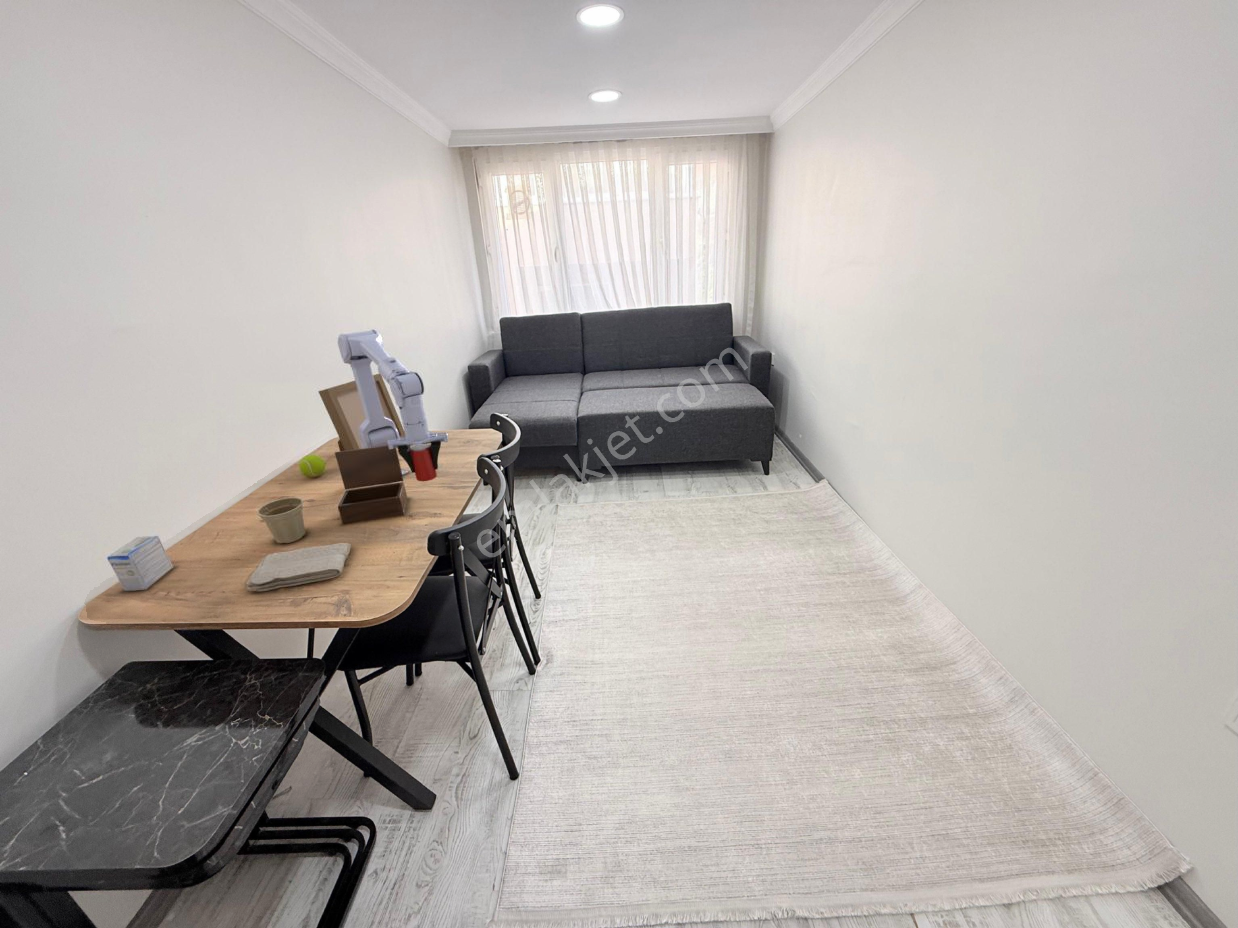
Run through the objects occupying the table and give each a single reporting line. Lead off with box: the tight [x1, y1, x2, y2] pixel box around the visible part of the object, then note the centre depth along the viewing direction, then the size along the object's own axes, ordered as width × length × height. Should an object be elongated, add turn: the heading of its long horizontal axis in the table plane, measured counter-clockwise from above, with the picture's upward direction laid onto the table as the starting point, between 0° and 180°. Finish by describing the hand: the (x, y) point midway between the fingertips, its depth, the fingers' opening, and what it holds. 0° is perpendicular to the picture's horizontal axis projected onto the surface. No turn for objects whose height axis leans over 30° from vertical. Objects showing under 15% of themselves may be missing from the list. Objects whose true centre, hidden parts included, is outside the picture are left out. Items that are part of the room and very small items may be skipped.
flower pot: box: [256, 496, 306, 544], centre depth 119 cm, size 9×9×9 cm
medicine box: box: [106, 535, 174, 592], centre depth 105 cm, size 8×4×9 cm, turn 5°
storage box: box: [337, 481, 409, 526], centre depth 130 cm, size 10×15×5 cm, turn 106°
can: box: [410, 443, 438, 482], centre depth 130 cm, size 5×5×9 cm
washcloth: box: [245, 542, 352, 592], centre depth 107 cm, size 12×18×3 cm, turn 106°
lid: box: [334, 445, 404, 490], centre depth 131 cm, size 10×15×1 cm
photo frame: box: [318, 373, 406, 452], centre depth 169 cm, size 15×22×25 cm
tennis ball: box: [298, 454, 327, 478], centre depth 153 cm, size 7×7×7 cm
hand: (425, 469), depth 131 cm, fingers closed on can, 5 cm apart
